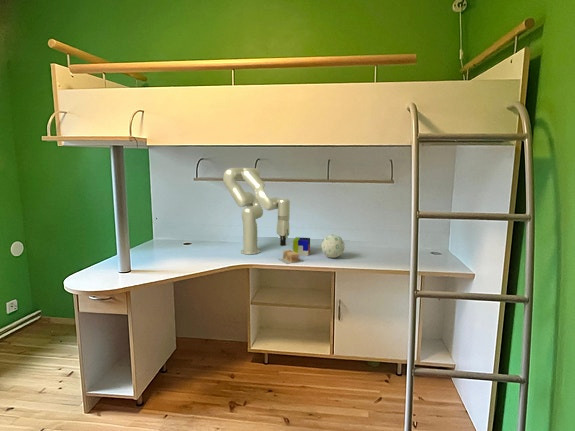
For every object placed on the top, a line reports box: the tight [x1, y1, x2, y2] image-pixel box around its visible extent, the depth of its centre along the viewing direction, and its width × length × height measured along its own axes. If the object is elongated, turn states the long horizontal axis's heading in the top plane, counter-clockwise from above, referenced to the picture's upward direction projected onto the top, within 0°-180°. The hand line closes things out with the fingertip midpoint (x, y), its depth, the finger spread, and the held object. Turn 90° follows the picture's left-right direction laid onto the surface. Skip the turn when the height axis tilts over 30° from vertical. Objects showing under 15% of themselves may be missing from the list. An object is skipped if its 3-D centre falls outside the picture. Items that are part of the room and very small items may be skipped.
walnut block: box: [282, 249, 299, 264], centre depth 250 cm, size 5×5×11 cm
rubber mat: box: [278, 258, 305, 265], centre depth 250 cm, size 11×12×1 cm
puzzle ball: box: [320, 234, 345, 259], centre depth 257 cm, size 15×15×15 cm
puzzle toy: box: [292, 236, 311, 257], centre depth 267 cm, size 10×10×10 cm
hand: (282, 245), depth 258 cm, fingers closed
